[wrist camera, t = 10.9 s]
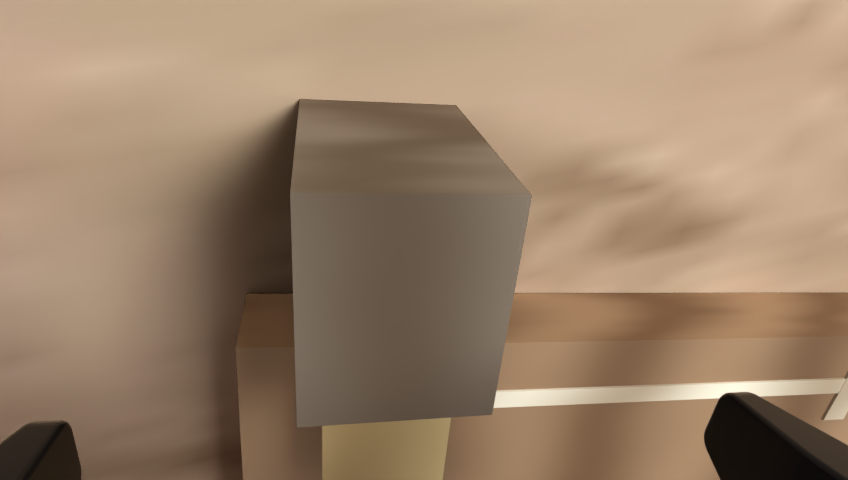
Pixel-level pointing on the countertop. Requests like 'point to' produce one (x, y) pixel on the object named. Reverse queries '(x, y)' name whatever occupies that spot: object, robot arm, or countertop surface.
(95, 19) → the countertop surface
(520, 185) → the grey and beige block
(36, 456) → the robot arm
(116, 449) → the countertop surface
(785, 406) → the plank
